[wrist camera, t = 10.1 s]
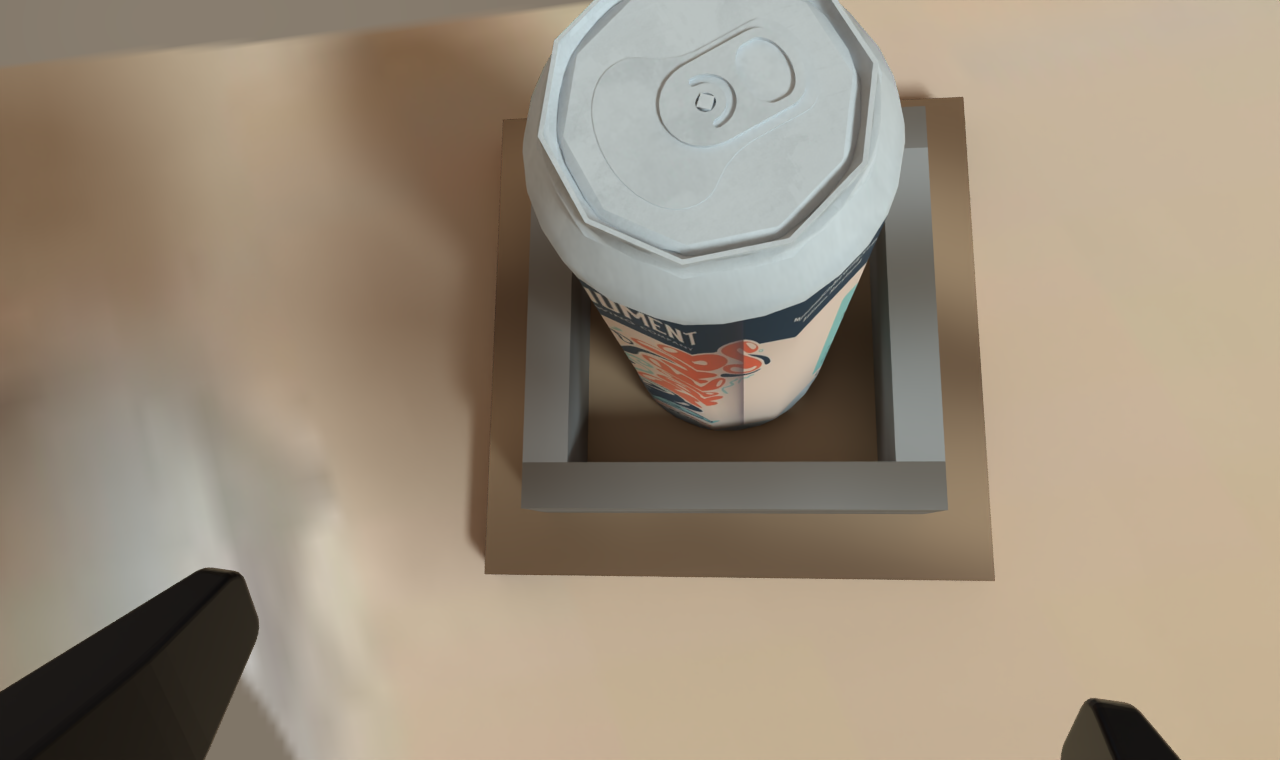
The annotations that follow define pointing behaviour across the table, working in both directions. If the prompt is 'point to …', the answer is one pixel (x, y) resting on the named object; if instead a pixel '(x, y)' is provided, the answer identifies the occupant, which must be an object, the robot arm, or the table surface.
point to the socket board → (762, 455)
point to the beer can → (716, 188)
